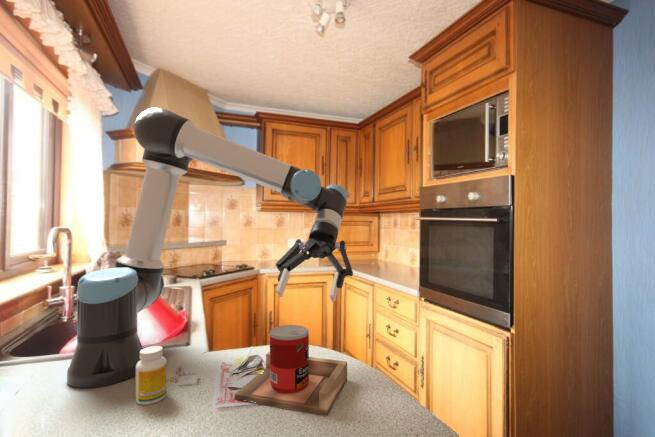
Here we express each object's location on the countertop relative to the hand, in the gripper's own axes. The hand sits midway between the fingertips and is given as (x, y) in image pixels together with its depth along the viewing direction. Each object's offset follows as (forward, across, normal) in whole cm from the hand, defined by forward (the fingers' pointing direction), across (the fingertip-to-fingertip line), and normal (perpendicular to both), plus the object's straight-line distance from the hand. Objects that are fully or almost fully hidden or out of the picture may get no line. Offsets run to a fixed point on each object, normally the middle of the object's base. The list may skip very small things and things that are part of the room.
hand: (304, 296), depth 78 cm
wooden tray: (+19, -2, -4) cm, 20 cm away
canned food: (+19, -1, -3) cm, 19 cm away
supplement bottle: (+28, +24, +4) cm, 36 cm away
